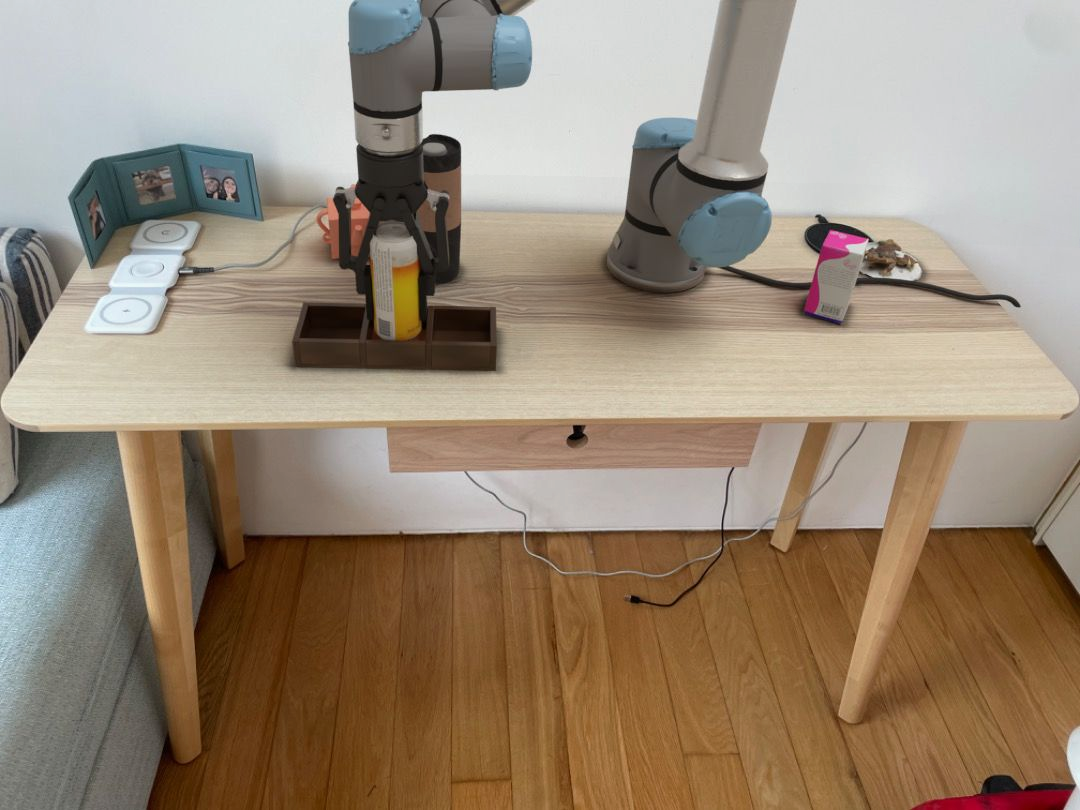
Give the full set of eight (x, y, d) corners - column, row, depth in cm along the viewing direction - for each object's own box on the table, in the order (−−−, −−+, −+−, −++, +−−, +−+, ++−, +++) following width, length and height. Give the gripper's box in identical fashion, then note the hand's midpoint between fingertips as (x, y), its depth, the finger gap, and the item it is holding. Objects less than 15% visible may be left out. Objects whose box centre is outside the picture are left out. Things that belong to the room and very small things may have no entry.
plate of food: (895, 291, 140) (903, 270, 137) (832, 258, 147) (838, 237, 144) (936, 270, 146) (944, 249, 143) (873, 239, 153) (880, 219, 150)
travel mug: (452, 288, 133) (453, 159, 120) (403, 280, 134) (397, 151, 121) (466, 263, 139) (468, 137, 126) (418, 255, 140) (415, 130, 127)
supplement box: (848, 306, 136) (870, 238, 128) (841, 325, 131) (863, 256, 124) (810, 295, 137) (830, 227, 130) (801, 314, 133) (821, 245, 126)
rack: (495, 331, 125) (496, 306, 122) (495, 370, 118) (496, 345, 115) (306, 326, 123) (303, 302, 120) (295, 367, 116) (291, 341, 113)
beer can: (429, 326, 120) (427, 224, 111) (409, 350, 116) (405, 247, 106) (387, 315, 122) (382, 214, 112) (366, 339, 117) (359, 236, 108)
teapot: (321, 276, 133) (315, 225, 128) (318, 227, 144) (313, 179, 139) (402, 272, 135) (400, 221, 130) (393, 224, 147) (391, 176, 141)
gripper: (299, 154, 99) (318, 329, 113) (473, 160, 100) (470, 332, 115) (309, 127, 105) (326, 296, 119) (474, 133, 106) (471, 300, 121)
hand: (397, 314), depth 117 cm, fingers closed on beer can, 6 cm apart
